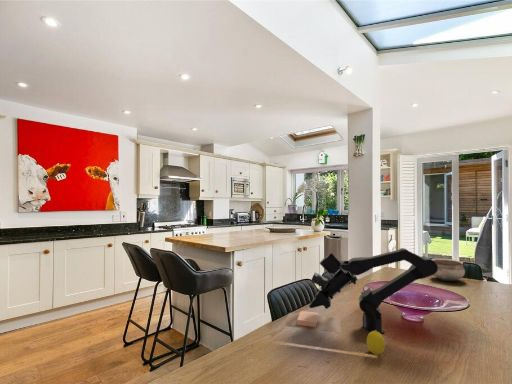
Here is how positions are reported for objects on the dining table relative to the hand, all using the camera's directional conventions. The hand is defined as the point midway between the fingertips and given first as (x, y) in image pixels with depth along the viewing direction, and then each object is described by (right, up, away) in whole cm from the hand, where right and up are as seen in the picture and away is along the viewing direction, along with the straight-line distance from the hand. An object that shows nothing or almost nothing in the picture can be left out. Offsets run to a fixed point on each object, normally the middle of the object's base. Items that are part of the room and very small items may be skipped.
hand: (309, 307), depth 120 cm
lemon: (+17, -6, -25) cm, 31 cm away
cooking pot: (+100, -9, +67) cm, 121 cm away
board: (+1, -7, -1) cm, 7 cm away
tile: (+3, -5, -1) cm, 6 cm away
